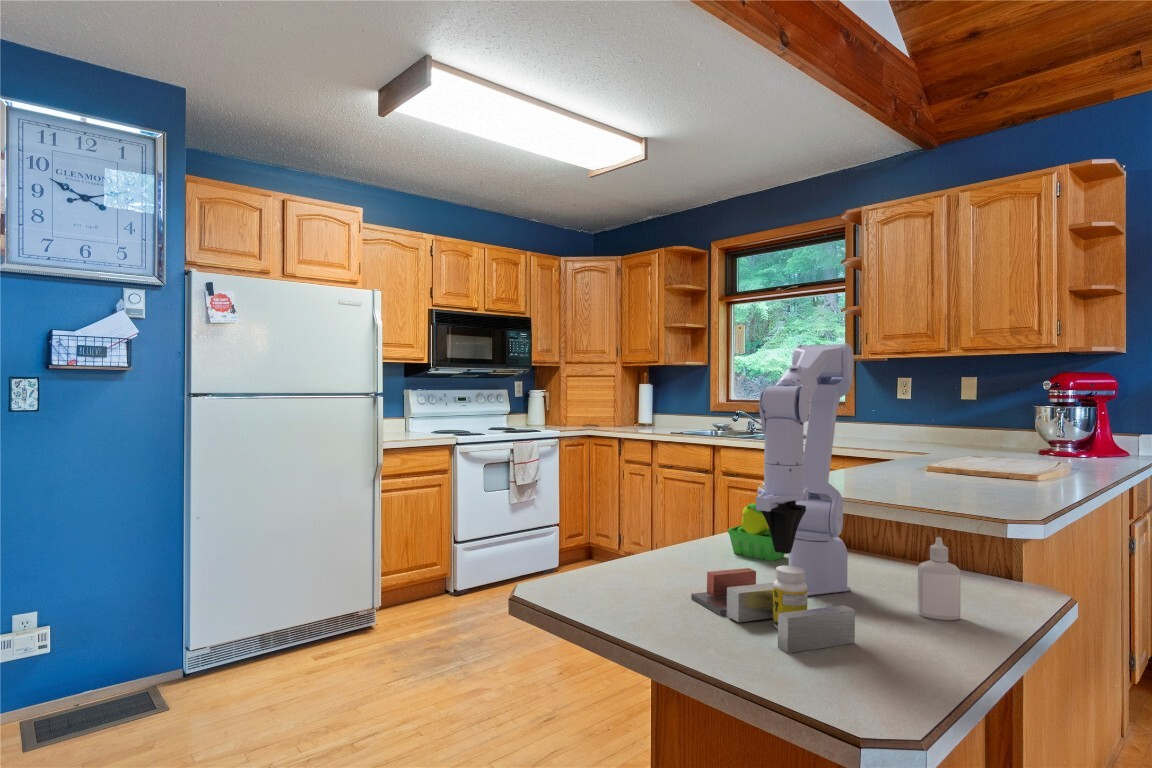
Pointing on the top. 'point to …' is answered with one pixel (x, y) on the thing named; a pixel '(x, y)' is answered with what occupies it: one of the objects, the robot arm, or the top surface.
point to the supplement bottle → (789, 591)
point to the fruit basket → (753, 536)
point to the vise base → (712, 602)
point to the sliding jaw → (742, 594)
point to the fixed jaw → (816, 628)
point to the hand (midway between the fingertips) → (782, 552)
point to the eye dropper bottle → (938, 585)
